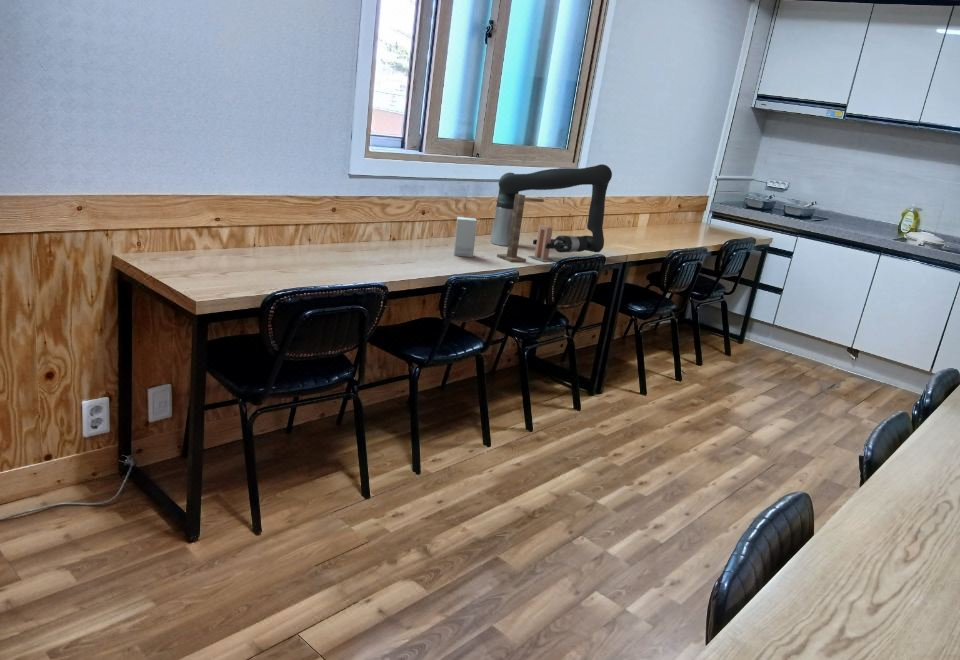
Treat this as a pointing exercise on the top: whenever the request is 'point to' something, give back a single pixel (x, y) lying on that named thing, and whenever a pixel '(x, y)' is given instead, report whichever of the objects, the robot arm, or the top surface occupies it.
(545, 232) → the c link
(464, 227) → the skincare box
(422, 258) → the top surface
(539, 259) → the mat
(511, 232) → the stand
